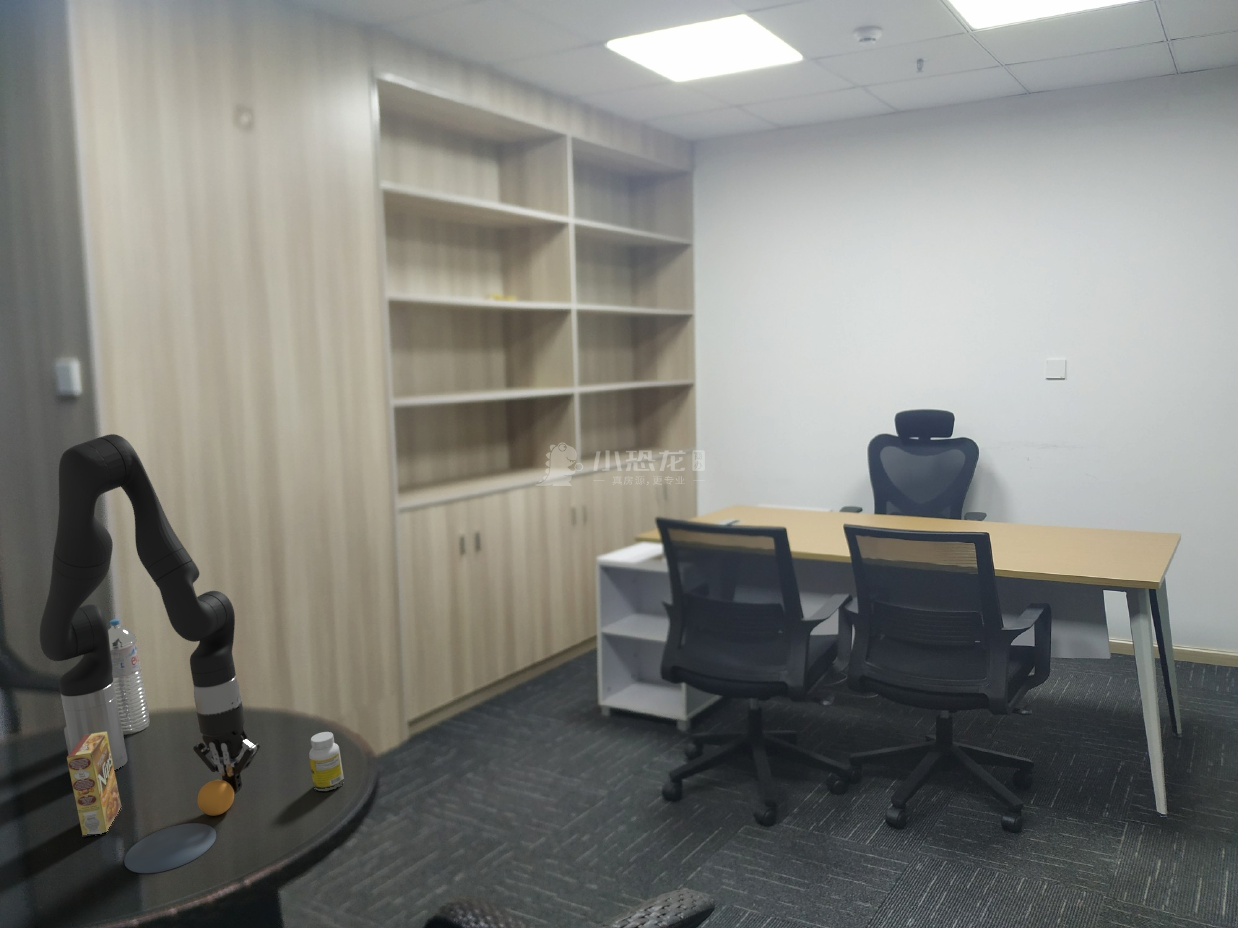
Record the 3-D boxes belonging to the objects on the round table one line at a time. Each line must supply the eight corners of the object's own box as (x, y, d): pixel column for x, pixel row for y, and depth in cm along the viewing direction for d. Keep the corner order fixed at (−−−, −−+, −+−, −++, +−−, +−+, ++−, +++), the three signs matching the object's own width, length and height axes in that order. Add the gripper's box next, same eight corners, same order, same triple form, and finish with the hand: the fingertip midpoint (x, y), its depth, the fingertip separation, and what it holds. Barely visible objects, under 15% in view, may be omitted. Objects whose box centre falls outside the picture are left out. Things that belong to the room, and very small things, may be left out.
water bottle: (136, 736, 199) (116, 625, 194) (108, 735, 200) (88, 625, 196) (157, 721, 205) (139, 614, 201) (131, 721, 207) (112, 614, 202)
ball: (205, 814, 166) (185, 810, 161) (217, 779, 169) (197, 774, 163) (233, 819, 164) (213, 815, 159) (245, 785, 167) (226, 779, 162)
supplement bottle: (317, 779, 174) (310, 731, 172) (346, 776, 174) (340, 728, 172) (310, 794, 168) (303, 744, 167) (340, 791, 169) (334, 741, 167)
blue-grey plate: (104, 867, 150) (104, 866, 150) (169, 820, 163) (169, 819, 163) (173, 877, 146) (173, 876, 146) (234, 828, 159) (234, 827, 159)
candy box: (107, 834, 160) (92, 752, 157) (81, 838, 159) (65, 756, 157) (122, 808, 169) (108, 730, 166) (97, 812, 168) (82, 734, 165)
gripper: (173, 710, 163) (189, 800, 166) (236, 714, 159) (251, 805, 163) (202, 692, 170) (217, 779, 173) (263, 695, 167) (277, 783, 170)
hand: (234, 791), depth 168 cm, fingers closed
